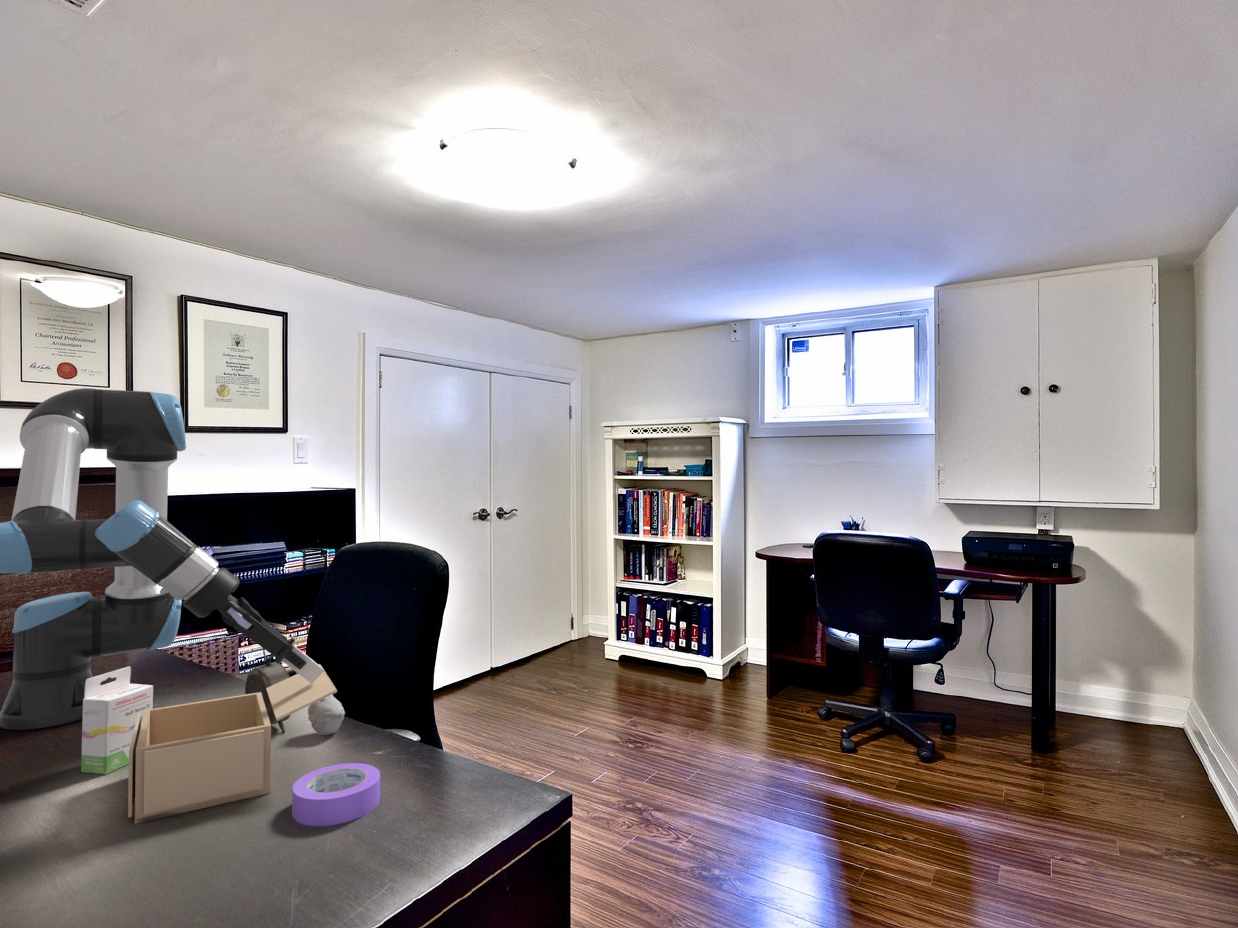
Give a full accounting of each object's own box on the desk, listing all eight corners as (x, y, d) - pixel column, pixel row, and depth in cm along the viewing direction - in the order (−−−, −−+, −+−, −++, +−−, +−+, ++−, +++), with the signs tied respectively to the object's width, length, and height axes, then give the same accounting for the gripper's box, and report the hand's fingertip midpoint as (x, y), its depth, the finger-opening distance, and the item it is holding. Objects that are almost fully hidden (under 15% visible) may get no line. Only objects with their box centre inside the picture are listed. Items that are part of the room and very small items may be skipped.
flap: (266, 688, 115) (319, 663, 119) (266, 690, 115) (320, 665, 119) (276, 718, 100) (336, 689, 105) (276, 720, 100) (337, 691, 105)
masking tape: (284, 802, 97) (284, 775, 97) (366, 780, 104) (366, 755, 104) (302, 837, 88) (302, 807, 88) (391, 810, 95) (391, 783, 95)
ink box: (105, 775, 105) (106, 681, 105) (79, 772, 106) (81, 679, 106) (154, 753, 113) (155, 666, 114) (129, 750, 114) (131, 664, 114)
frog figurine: (329, 724, 126) (330, 687, 127) (352, 732, 123) (353, 694, 123) (299, 734, 121) (300, 696, 121) (322, 743, 118) (322, 703, 118)
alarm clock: (295, 732, 123) (296, 644, 123) (265, 741, 118) (266, 650, 119) (268, 718, 129) (269, 634, 130) (238, 726, 125) (239, 640, 125)
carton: (137, 772, 106) (138, 709, 106) (260, 748, 115) (260, 690, 115) (127, 827, 89) (128, 753, 90) (270, 794, 99) (271, 727, 99)
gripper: (181, 596, 106) (294, 684, 115) (178, 610, 95) (304, 706, 104) (220, 560, 109) (328, 649, 118) (222, 570, 98) (341, 667, 107)
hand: (317, 676), depth 111 cm, fingers closed
